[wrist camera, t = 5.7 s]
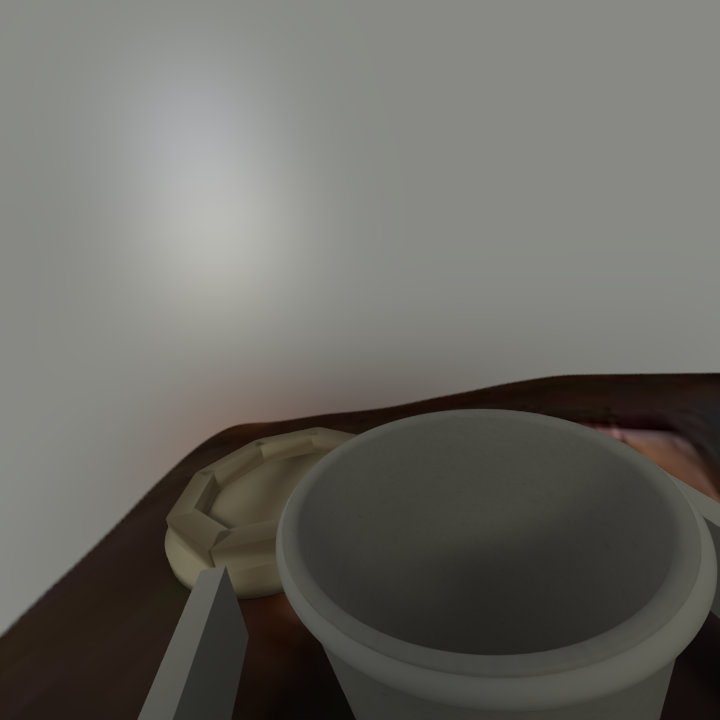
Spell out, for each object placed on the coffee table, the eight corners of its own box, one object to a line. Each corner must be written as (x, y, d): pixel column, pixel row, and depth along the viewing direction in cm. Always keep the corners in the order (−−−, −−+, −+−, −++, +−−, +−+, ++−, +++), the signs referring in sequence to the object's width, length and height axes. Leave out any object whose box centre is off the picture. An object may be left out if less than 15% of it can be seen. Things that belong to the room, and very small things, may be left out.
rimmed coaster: (377, 436, 34) (372, 411, 33) (415, 563, 19) (407, 522, 18) (211, 471, 33) (203, 445, 32) (119, 629, 18) (102, 588, 18)
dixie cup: (442, 605, 16) (408, 395, 14) (696, 740, 11) (712, 430, 8) (298, 828, 11) (197, 534, 8) (688, 1372, 5) (735, 951, 3)
